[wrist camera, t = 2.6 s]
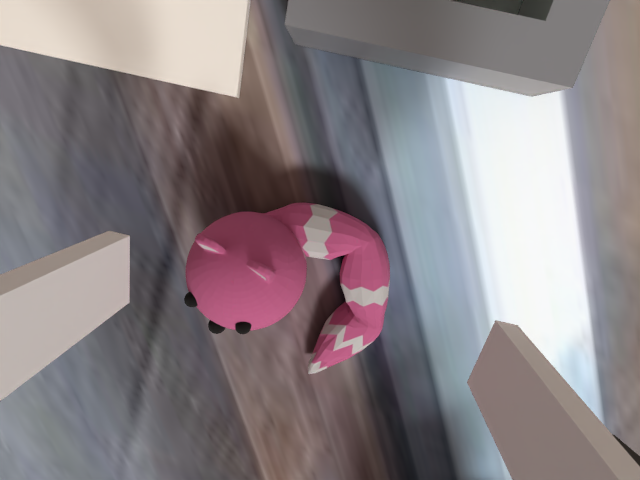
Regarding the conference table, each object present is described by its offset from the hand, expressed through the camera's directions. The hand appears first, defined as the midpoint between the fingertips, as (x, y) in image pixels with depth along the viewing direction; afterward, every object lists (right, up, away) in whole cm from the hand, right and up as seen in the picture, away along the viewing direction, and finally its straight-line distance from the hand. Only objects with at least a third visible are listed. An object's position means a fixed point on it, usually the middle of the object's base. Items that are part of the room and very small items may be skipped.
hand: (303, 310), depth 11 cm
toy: (-1, 0, +9) cm, 9 cm away
